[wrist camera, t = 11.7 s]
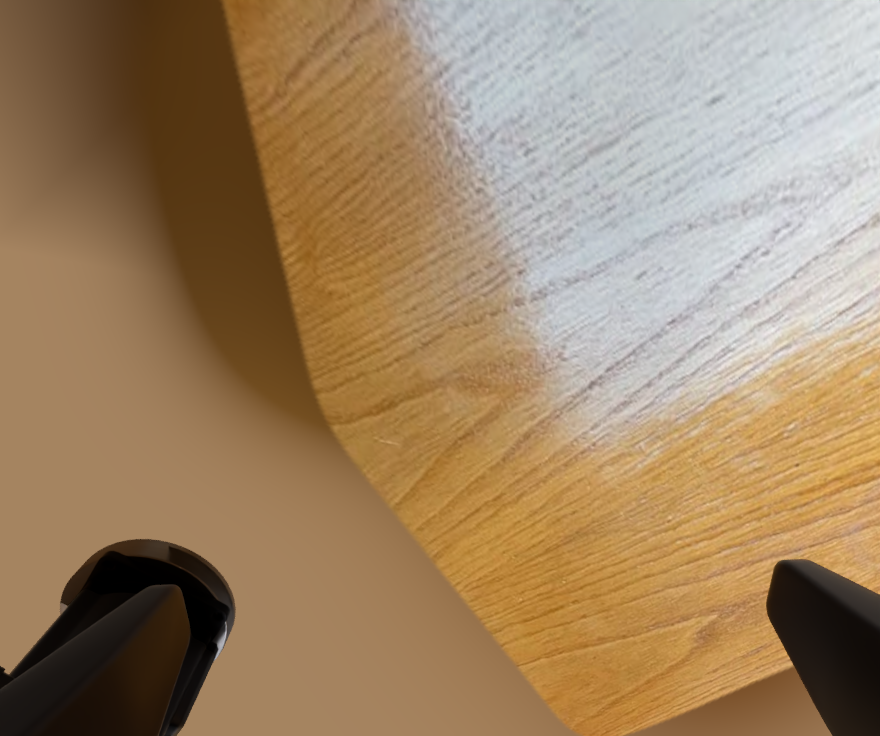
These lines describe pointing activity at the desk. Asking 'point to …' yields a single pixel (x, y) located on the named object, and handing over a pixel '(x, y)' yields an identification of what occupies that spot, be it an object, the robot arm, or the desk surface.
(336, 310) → the desk surface
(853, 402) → the desk surface
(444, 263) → the desk surface
